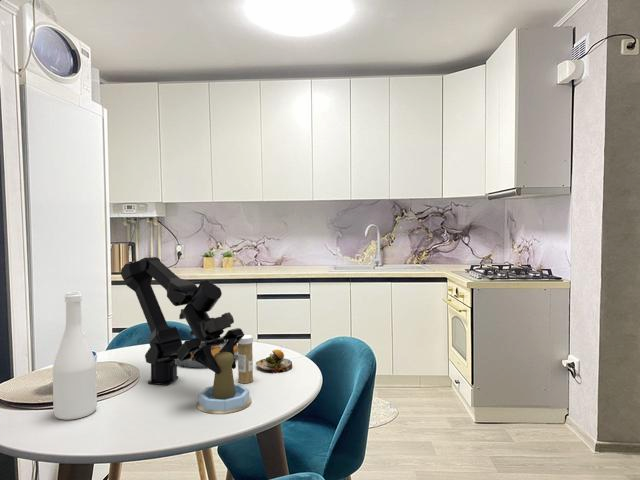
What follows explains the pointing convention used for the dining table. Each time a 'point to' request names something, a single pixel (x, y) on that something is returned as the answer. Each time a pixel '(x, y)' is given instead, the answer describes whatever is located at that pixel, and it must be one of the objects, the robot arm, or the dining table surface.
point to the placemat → (223, 411)
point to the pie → (196, 364)
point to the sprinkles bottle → (245, 359)
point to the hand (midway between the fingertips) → (227, 370)
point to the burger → (275, 362)
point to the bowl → (224, 404)
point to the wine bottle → (74, 367)
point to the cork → (224, 376)
